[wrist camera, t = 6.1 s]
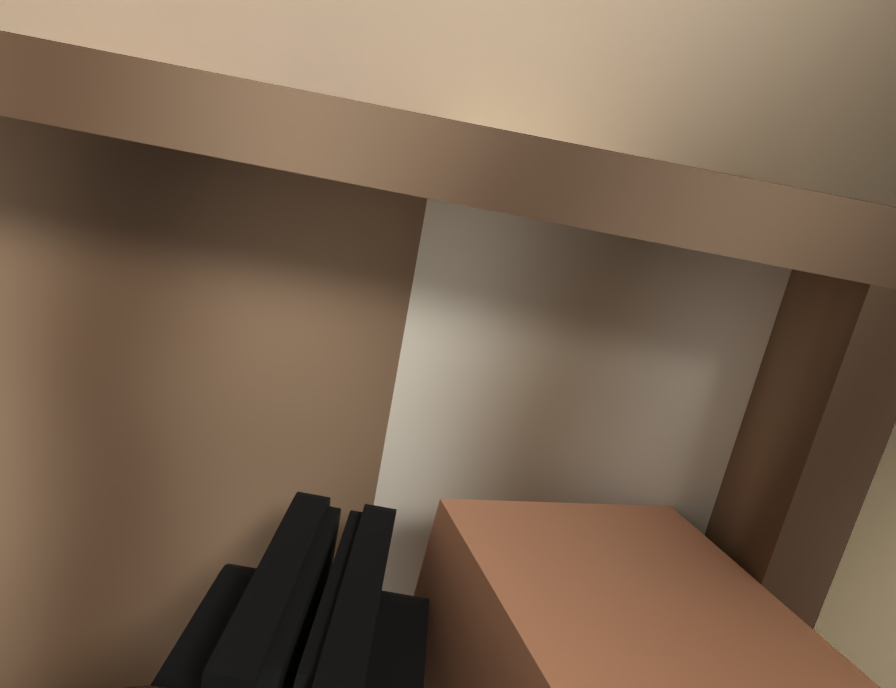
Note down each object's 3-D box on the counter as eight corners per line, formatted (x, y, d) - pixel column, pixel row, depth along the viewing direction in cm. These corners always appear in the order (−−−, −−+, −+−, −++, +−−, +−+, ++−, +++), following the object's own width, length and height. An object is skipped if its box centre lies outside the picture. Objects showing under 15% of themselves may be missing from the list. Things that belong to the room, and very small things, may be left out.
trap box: (795, 207, 12) (974, 223, 8) (615, 764, 16) (672, 984, 12) (-395, -28, 12) (-893, -146, 8) (-307, 604, 15) (-610, 772, 11)
